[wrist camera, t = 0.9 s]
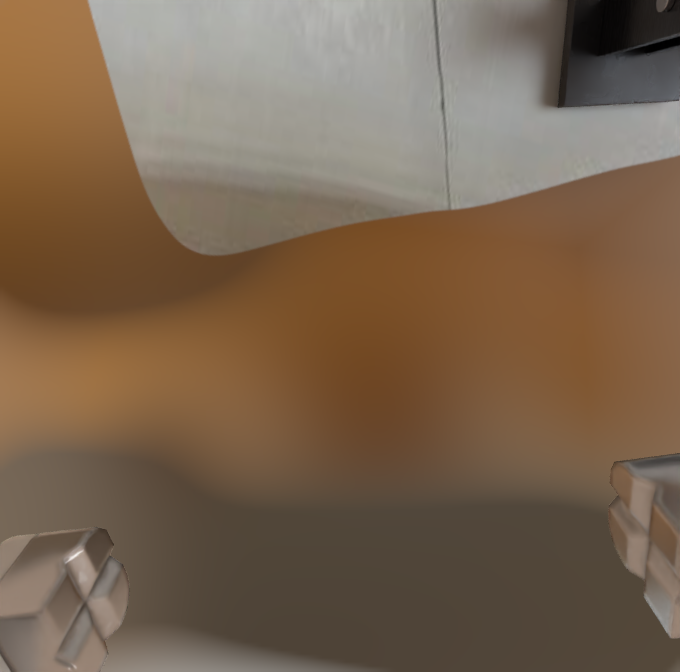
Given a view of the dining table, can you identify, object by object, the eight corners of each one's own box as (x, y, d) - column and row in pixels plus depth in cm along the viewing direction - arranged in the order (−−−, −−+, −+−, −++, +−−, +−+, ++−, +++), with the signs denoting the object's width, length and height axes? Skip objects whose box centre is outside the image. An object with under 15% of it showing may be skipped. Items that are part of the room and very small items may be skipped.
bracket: (573, -53, 42) (663, -125, 30) (697, -61, 42) (838, -137, 30) (557, 107, 46) (630, 100, 34) (669, 101, 46) (782, 91, 34)
